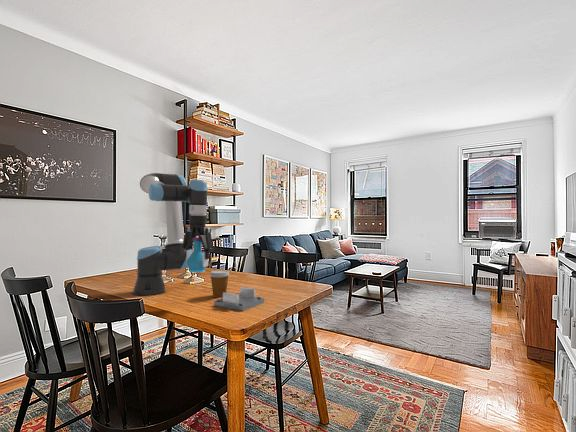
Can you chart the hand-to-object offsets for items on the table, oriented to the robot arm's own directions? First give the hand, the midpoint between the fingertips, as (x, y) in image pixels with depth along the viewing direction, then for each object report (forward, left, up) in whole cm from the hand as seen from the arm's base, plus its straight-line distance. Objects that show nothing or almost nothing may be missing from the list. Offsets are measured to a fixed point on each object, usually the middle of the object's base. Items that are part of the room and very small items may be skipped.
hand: (197, 265), depth 144 cm
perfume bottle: (0, 0, -3) cm, 3 cm away
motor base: (+15, +11, -18) cm, 26 cm away
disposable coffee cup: (-3, +18, -18) cm, 25 cm away
